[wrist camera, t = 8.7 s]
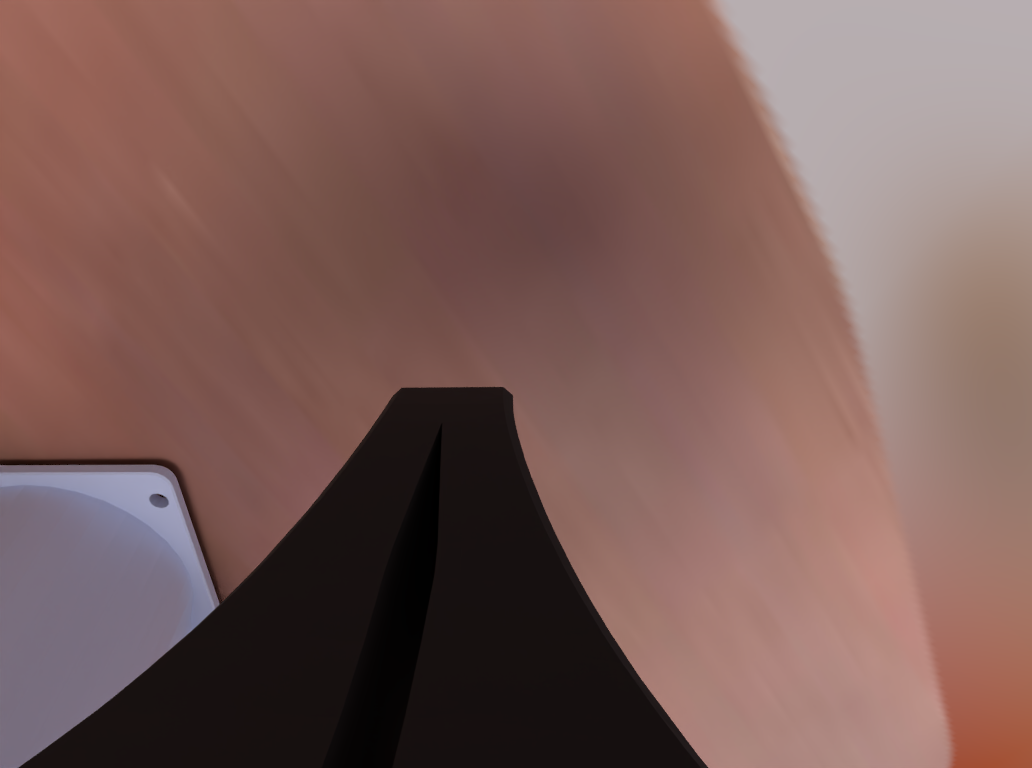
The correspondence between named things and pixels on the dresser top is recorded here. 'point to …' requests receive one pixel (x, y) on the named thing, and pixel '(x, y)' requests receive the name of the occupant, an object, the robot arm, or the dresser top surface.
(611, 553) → the dresser top surface
